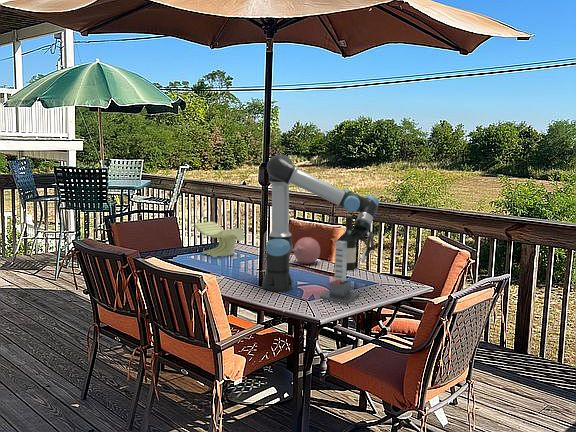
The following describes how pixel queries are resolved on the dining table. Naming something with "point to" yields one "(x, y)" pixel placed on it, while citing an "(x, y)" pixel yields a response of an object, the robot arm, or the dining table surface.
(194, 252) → the dining table surface
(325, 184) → the robot arm
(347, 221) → the wine bottle
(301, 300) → the dining table surface
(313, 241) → the pink rounded ovoid
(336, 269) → the column
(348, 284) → the stand
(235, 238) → the slatted curved stool
